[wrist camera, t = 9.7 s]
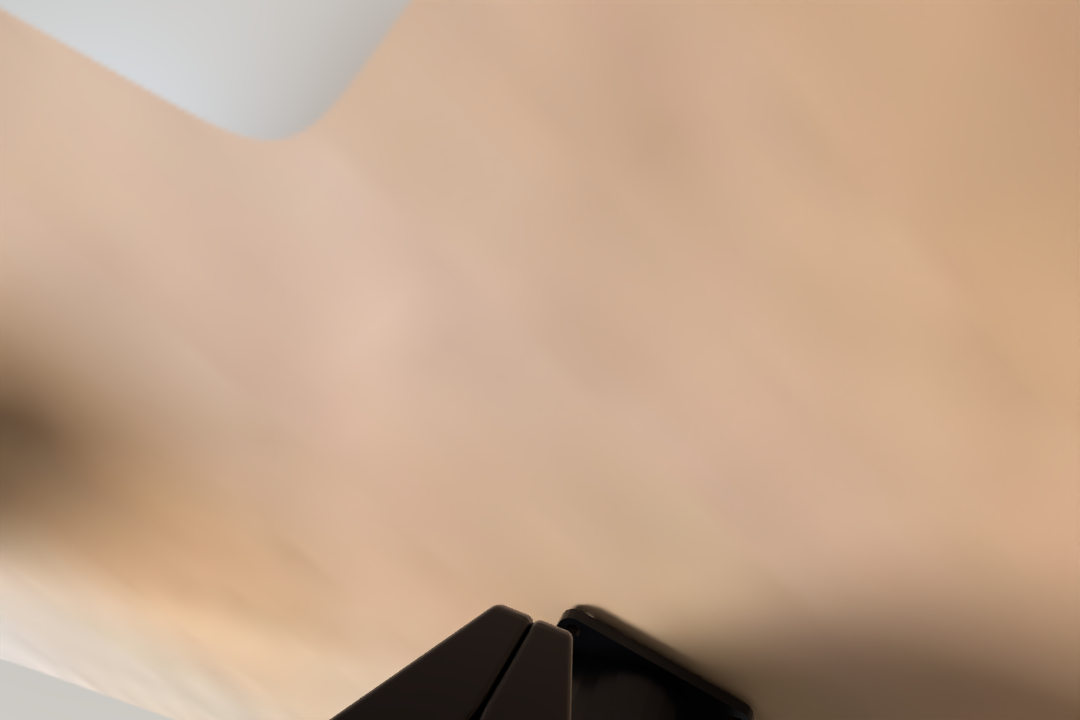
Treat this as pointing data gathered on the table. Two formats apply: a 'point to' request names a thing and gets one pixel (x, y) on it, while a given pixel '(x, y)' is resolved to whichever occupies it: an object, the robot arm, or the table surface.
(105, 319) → the table surface
